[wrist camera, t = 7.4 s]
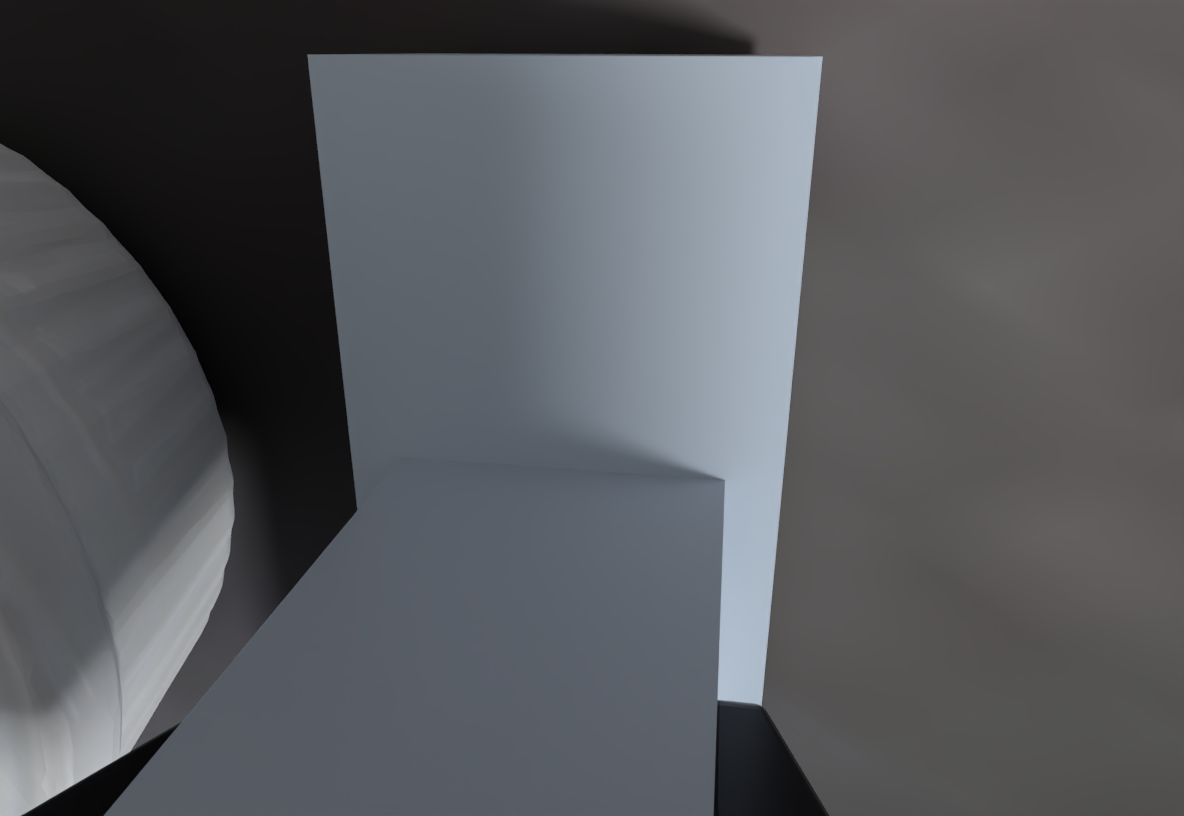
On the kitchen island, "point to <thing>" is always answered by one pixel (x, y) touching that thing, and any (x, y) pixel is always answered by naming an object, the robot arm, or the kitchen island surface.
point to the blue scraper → (532, 443)
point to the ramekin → (94, 492)
